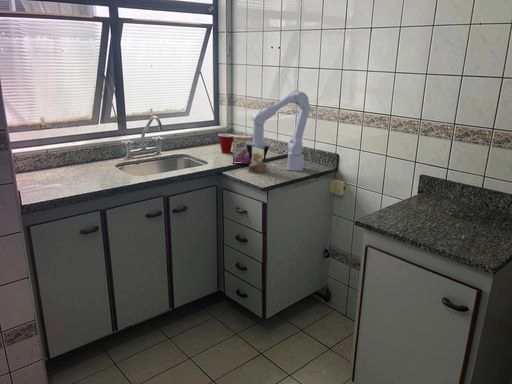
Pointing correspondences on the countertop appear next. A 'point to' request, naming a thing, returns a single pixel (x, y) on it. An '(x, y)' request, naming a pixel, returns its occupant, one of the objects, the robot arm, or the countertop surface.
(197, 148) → the countertop surface
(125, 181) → the countertop surface
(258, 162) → the maple block
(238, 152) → the candy bar box
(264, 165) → the walnut block
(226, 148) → the plastic cup
